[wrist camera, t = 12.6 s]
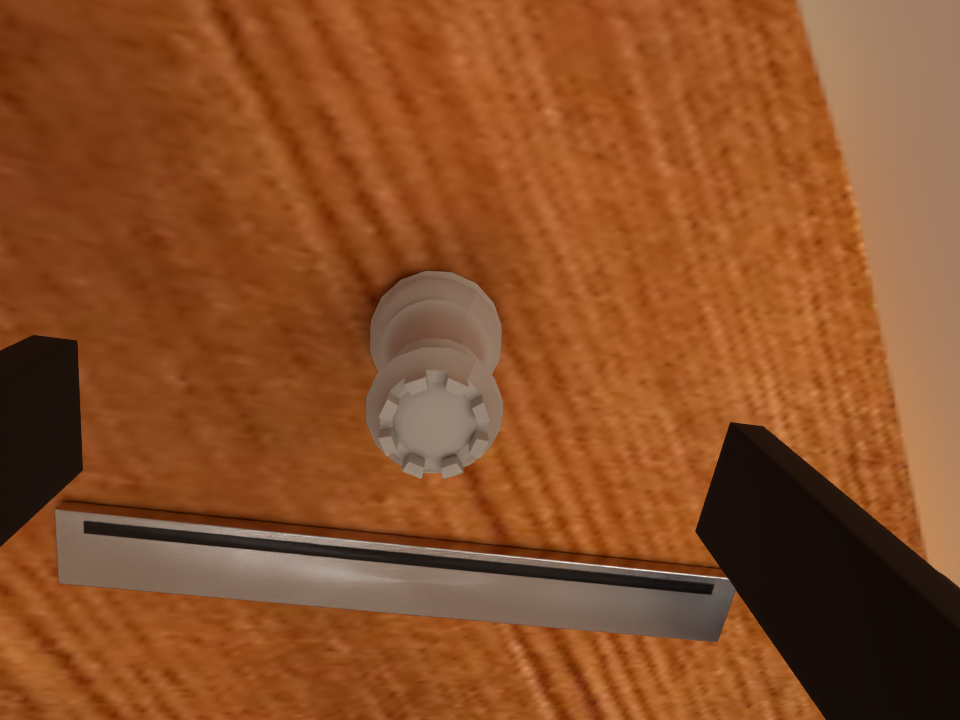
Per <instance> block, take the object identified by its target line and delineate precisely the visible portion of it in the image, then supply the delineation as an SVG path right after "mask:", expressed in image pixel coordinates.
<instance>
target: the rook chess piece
mask: <svg viewBox="0 0 960 720" xmlns="http://www.w3.org/2000/svg"><path fill="white" fill-rule="evenodd" d="M501 329H502V326H501V323H500V320H499V317H498V314H497V311H496V308H495V305H494V303H493V301H492V300H491V299H490V298H489V297H488V296H487V295H486V294H485V293H484V291H483V290H482V289H481V288H480V287H479V286H478V285H477V284H476V283H474V282H472V281H470V280H468V279H466V278H464V277H462V276H459V275H457V274H455V273H453V272H438V271H424V272H421V273H418V274H415V275H413V276H410V277H407V278H404V279H401V280H400V281H399V282H398V283H397V284H395V285H394V286H393V287H392V288H391V289H390V290H389V291H388V292H387V293H386V294H384V295H383V296H382V297H381V299H380V302H379V304H378V306H377V308H376V311H375V313H374V315H373V317H372V319H371V327H370V354H371V356H372V359H373V361H374V363H375V366H376V368H377V370H378V374H377V375H376V378H375V380H374V382H373V384H372V386H371V388H370V391H369V393H368V395H367V397H366V424H367V426H368V428H369V430H370V433H371V435H372V437H373V439H374V442H375V444H376V446H377V447H378V448H379V449H380V450H382V451H383V452H384V453H385V455H386V457H387V456H388V457H389V458H390V459H391V460H392V461H393V462H394V463H396V464H399V465H401V466H402V471H403V472H405V473H408V474H410V475H413V476H415V477H418V478H420V479H422V475H423V473H442V476H443V479H446V478H449V477H452V476H455V475H458V474H461V473H463V467H466V466H469V465H471V464H472V463H473V462H474V461H475V460H477V459H480V458H481V456H482V455H483V454H484V453H485V452H486V451H488V450H489V449H490V447H491V445H492V443H493V442H494V440H495V438H496V436H497V434H498V432H499V430H500V429H501V424H502V412H503V400H502V397H501V395H500V392H499V389H498V386H497V383H496V381H495V378H494V377H493V376H492V373H493V371H494V369H495V367H496V366H497V364H498V362H499V360H500V355H501V342H502V332H501Z"/></svg>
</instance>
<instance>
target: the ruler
mask: <svg viewBox="0 0 960 720" xmlns="http://www.w3.org/2000/svg"><path fill="white" fill-rule="evenodd" d="M55 526H56V544H57V562H58V580H59V584H69V585H80V586H92V587H103V588H114V589H125V590H136V591H148V592H159V593H170V594H181V595H192V596H204V597H215V598H226V599H237V600H249V601H260V602H271V603H282V604H293V605H305V606H316V607H327V608H338V609H349V610H361V611H372V612H383V613H394V614H405V615H417V616H428V617H439V618H450V619H461V620H473V621H484V622H495V623H506V624H518V625H529V626H540V627H551V628H562V629H574V630H585V631H596V632H607V633H618V634H630V635H641V636H652V637H663V638H674V639H686V640H697V641H708V642H718V640H719V637H720V634H721V631H722V628H723V625H724V622H725V620H726V617H727V614H728V611H729V608H730V605H731V602H732V600H733V597H734V594H735V591H736V589H735V588H734V587H733V585H732V584H731V582H730V581H729V579H728V578H727V576H726V575H725V574H724V572H723V571H722V569H716V568H706V567H696V566H687V565H677V564H667V563H658V562H648V561H638V560H629V559H619V558H609V557H600V556H590V555H580V554H571V553H561V552H551V551H541V550H532V549H522V548H512V547H503V546H493V545H483V544H474V543H464V542H454V541H445V540H435V539H425V538H416V537H406V536H396V535H387V534H377V533H367V532H357V531H348V530H338V529H328V528H319V527H309V526H299V525H290V524H280V523H270V522H261V521H251V520H241V519H232V518H222V517H212V516H202V515H193V514H183V513H173V512H164V511H154V510H144V509H135V508H125V507H115V506H106V505H96V504H86V503H77V502H67V501H64V502H62V503H61V504H60V505H59V506H58V507H57V508H56V509H55Z"/></svg>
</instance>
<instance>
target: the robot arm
mask: <svg viewBox="0 0 960 720" xmlns="http://www.w3.org/2000/svg"><path fill="white" fill-rule="evenodd" d="M82 471H83V461H82V438H81V414H80V391H79V368H78V345H77V340H69V339H61V338H53V337H45V336H37V335H33V336H30V337H28V338H26V339H24V340H22V341H20V342H18V343H16V344H13V345H11V346H9V347H7V348H5V349H3V350H1V351H0V547H1V546H2V545H3V544H4V543H5V542H6V541H7V540H8V539H9V538H10V537H12V536H13V535H14V534H15V533H16V532H17V531H18V530H19V529H20V528H21V527H22V526H23V525H24V524H26V523H27V522H28V521H29V520H30V519H31V518H32V517H33V516H34V515H35V514H36V513H37V512H38V511H40V510H41V509H42V508H43V507H44V506H45V505H46V504H47V503H48V502H49V501H50V500H51V499H52V498H54V497H55V496H56V495H57V494H58V493H59V492H60V491H61V490H62V489H63V488H64V487H65V486H66V485H68V484H69V483H70V482H71V481H72V480H73V479H74V478H75V477H76V476H77V475H78V474H79V473H80V472H82ZM695 532H696V533H697V535H698V536H699V538H700V539H701V540H702V542H703V543H704V545H705V546H706V548H707V549H708V551H709V552H710V553H711V555H712V556H713V558H714V559H715V561H716V562H717V563H718V565H719V566H720V568H721V569H722V571H723V572H724V574H725V575H726V576H727V578H728V579H729V581H730V582H731V584H732V585H733V587H734V588H735V589H736V591H737V592H738V594H739V595H740V597H741V598H742V599H743V601H744V602H745V604H746V605H747V607H748V608H749V610H750V611H751V612H752V614H753V615H754V617H755V618H756V620H757V621H758V622H759V624H760V625H761V627H762V628H763V630H764V631H765V633H766V634H767V635H768V637H769V638H770V640H771V641H772V643H773V644H774V646H775V647H776V648H777V650H778V651H779V653H780V654H781V656H782V657H783V658H784V660H785V661H786V663H787V664H788V666H789V667H790V669H791V670H792V671H793V673H794V674H795V676H796V677H797V679H798V680H799V681H800V683H801V684H802V686H803V687H804V689H805V690H806V692H807V693H808V694H809V696H810V697H811V699H812V700H813V702H814V703H815V705H816V706H817V707H818V709H819V710H820V712H821V713H822V715H823V716H824V717H825V719H826V720H960V588H959V587H958V586H957V585H956V584H954V583H953V582H952V581H951V580H950V579H948V578H947V577H946V576H944V575H943V574H941V573H939V572H938V571H937V570H935V569H934V568H933V567H932V566H931V565H930V564H928V563H927V562H926V561H925V560H924V559H922V558H921V557H920V556H919V555H917V554H916V553H915V552H914V551H913V550H911V549H910V548H909V547H908V546H907V545H905V544H904V543H903V542H902V541H901V540H899V539H898V538H897V537H896V536H895V535H893V534H892V533H891V532H890V531H889V530H887V529H886V528H885V527H884V526H883V525H881V524H880V523H879V522H878V521H877V520H875V519H874V518H873V517H872V516H871V515H869V514H868V513H867V512H866V511H865V510H863V509H862V508H861V507H860V506H859V505H857V504H856V503H855V502H854V501H853V500H851V499H850V498H849V497H848V496H847V495H845V494H844V493H843V492H842V491H840V490H839V489H838V488H837V487H836V486H834V485H833V484H832V483H831V482H830V481H828V480H827V479H826V478H825V477H824V476H822V475H821V474H820V473H819V472H818V471H816V470H815V469H814V468H813V467H812V466H810V465H809V464H808V463H807V462H806V461H804V460H803V459H802V458H801V457H800V456H798V455H797V454H796V453H795V452H794V451H792V450H791V449H790V448H789V447H788V446H786V445H785V444H784V443H783V442H782V441H780V440H779V439H778V438H777V437H776V436H774V435H773V434H772V433H771V432H770V431H768V430H767V429H766V428H765V427H763V426H757V425H749V424H741V423H733V422H730V425H729V428H728V431H727V434H726V437H725V440H724V443H723V446H722V450H721V453H720V456H719V459H718V462H717V465H716V468H715V471H714V475H713V478H712V481H711V484H710V487H709V490H708V493H707V497H706V500H705V503H704V506H703V509H702V512H701V515H700V518H699V522H698V525H697V528H696V531H695Z"/></svg>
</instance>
